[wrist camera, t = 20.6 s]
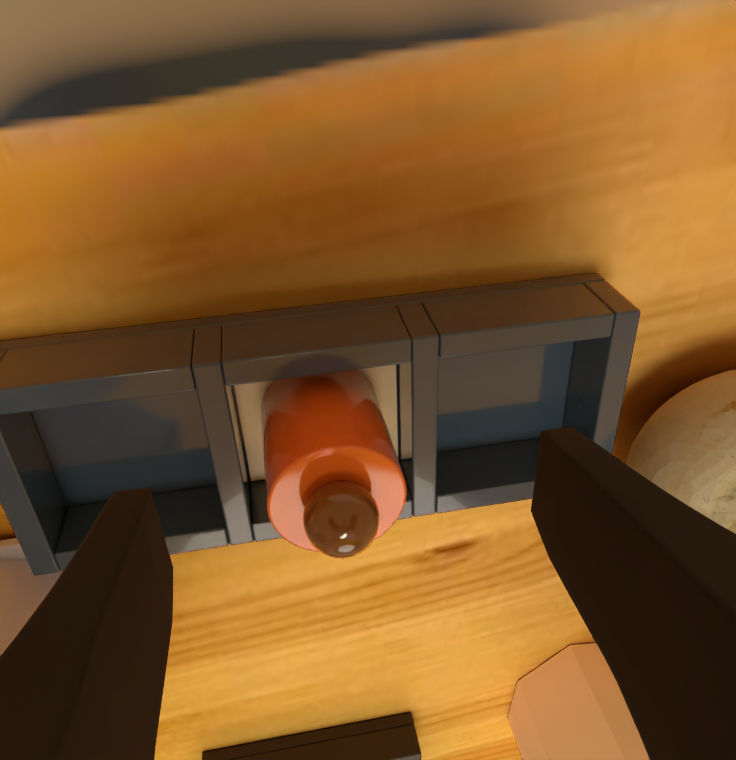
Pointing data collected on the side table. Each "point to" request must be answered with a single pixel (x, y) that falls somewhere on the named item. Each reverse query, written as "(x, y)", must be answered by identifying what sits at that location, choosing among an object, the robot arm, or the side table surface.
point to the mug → (573, 711)
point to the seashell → (694, 448)
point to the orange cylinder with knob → (329, 463)
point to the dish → (297, 359)
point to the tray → (336, 743)
